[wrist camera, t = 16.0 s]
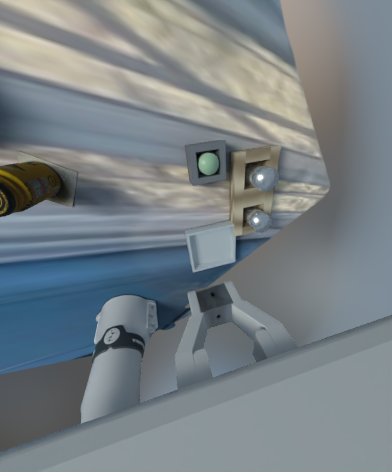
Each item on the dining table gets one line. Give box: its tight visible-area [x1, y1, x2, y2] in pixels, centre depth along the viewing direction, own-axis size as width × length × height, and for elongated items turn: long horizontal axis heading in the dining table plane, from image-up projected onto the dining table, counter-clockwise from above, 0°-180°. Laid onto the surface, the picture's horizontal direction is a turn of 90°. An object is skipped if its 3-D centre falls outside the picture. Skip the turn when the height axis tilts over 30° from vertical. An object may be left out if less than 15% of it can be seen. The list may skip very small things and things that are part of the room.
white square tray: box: [185, 220, 236, 272], centre depth 44 cm, size 13×13×2 cm
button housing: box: [185, 140, 226, 186], centre depth 32 cm, size 7×7×4 cm
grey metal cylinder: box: [245, 163, 279, 192], centre depth 33 cm, size 4×4×7 cm
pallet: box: [230, 145, 281, 237], centre depth 38 cm, size 20×10×3 cm, turn 7°
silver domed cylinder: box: [243, 206, 272, 232], centre depth 39 cm, size 4×4×7 cm
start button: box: [197, 152, 219, 175], centre depth 31 cm, size 4×4×3 cm
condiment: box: [0, 151, 77, 217], centre depth 24 cm, size 7×8×12 cm
